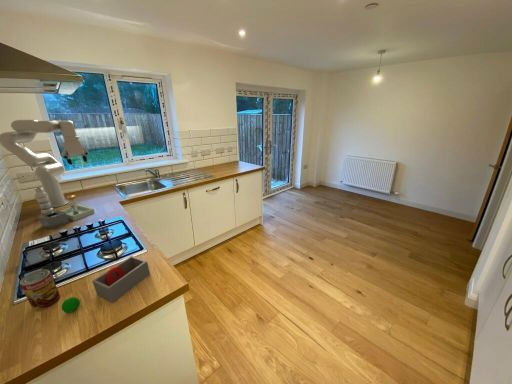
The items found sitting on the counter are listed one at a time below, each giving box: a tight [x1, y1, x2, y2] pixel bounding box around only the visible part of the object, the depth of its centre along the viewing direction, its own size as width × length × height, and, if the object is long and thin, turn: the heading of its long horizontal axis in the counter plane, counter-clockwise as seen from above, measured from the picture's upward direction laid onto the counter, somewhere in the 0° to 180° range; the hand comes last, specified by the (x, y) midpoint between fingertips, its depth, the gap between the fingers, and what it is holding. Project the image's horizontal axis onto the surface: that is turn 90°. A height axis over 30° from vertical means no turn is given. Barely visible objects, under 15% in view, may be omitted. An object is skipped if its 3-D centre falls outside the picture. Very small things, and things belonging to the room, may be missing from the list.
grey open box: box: [91, 255, 151, 304], centre depth 88 cm, size 10×17×7 cm, turn 156°
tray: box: [60, 204, 95, 221], centre depth 152 cm, size 18×13×3 cm
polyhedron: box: [61, 296, 81, 314], centre depth 77 cm, size 5×5×5 cm
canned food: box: [19, 268, 62, 312], centre depth 79 cm, size 8×8×12 cm
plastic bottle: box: [34, 186, 55, 216], centre depth 148 cm, size 6×7×20 cm
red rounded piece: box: [105, 265, 135, 286], centre depth 89 cm, size 12×4×8 cm, turn 155°
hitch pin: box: [65, 194, 80, 215], centre depth 150 cm, size 5×5×13 cm
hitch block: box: [37, 210, 70, 230], centre depth 137 cm, size 10×10×7 cm
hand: (78, 163), depth 156 cm, fingers open, 9 cm apart
